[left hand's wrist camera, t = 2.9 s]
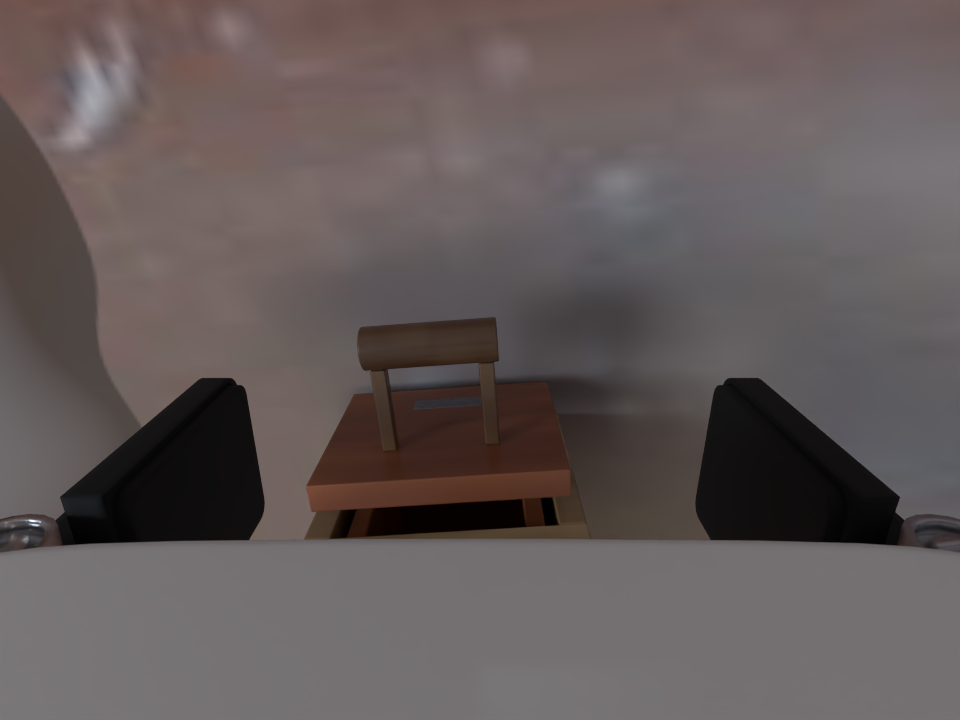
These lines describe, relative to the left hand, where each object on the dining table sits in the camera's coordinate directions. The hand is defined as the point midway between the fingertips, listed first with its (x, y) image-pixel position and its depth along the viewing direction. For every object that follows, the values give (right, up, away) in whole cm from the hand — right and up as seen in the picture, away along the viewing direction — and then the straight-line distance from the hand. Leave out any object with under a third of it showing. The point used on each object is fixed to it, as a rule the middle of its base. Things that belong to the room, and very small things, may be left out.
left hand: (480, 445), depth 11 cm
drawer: (-1, -6, +20) cm, 21 cm away
